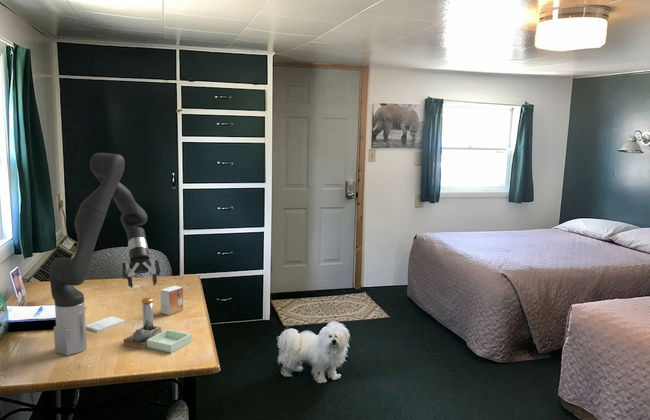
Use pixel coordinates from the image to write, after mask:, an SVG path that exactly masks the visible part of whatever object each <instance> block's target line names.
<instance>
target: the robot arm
mask: <svg viewBox="0 0 650 420" xmlns="http://www.w3.org/2000/svg"><path fill="white" fill-rule="evenodd" d="M125 166H126V163H125V158H124V157H123V156H122V155H121V154H117V153H108V152H96V153H94V154H93V155H92V156H91V158H90V161H89V167H90V170H91V172H92V174H93V175H94V177H95V178H96V180H98V181H99V182H100V183H101V184H100V185H99V186H98V187H97V188H96V189H95V190H94V191H93V192H92V193H90V194H89V195H88V196H87V197H86V198H85V199H84V200H83V201H82V202H81V204H80V206H79V208H78V211H77V213H76V215H75V219H74V229H75V232H76V237H77V248H76V250H75V254H74V257H57V258H55V259H54V260H53V261H52V263H51V264H50V267H49V282H50V290H51V291H50V292H51V296H52V297H51V298H52V299H53V301H54V309H55V326H53V337H54V352H55V353H57V354H61V355H64V356H67V357H68V356H70V355H74V354H78V353H81V352H83V351H85V350H86V349H87V347H88V346H87V343H88V342H87V329H86V325H87V324H86V310H85V309H86V308H85V296H84V295H85V294H84V293H83V292H82V291H80V290H78V289H77V288H76V286H80V285H82V284H83V283H84V282H85V281H86V279H87V277H88V274H89V271H90V268H91V267H90V266H91V263H92V259H93V255H94V252H95V247H96V244H97V240H98V237H99V234H100V231H101V229H102V227H103V224H104V221H105V220H106V219H105V218H106V216H107V212H108V210H109V206H110V204H111V200H112V199H113V200H114V203H115V204H116V206H117V207H118V208H117V209H118V210H119V211H120V213H122V214H121V215H120V222H121V224H122V226H123V227H124V230H125V232H126V236H127V242H128V243H127V246H128V247H127V252H128V257H129V263H125V262H123V263H122V264H121V265H122V266H121V273H122V274H121V275H122V277H121V278H122V280H125V279H126V280H127V286H128V288H129V287H130V289H133V277H134V275H137V274H138V275H139V274H148V275H149V276H151V278H152V279H151V280H152V285H153V286H156V284H158V279H157V276H160V275H161V267H160V262H159V260H158V259H156V260H155V261H151V260H150V253H149V246H148V242H147V236H146V232H145V229H144V228H143V227H140V226H143V225H145V224H146V223H147V222H148V215H147V212H146V211H145V209H143V207H141V206H140V205H139V204H138V203H137V201H136V200H135V198H134V196H133V195H132V192H131V191H130V190H129V189H128V188H127V187H126V186H125V185H124V184H122V183H121V182H120V181H121V179H122V177H123V174H124V171H125ZM152 266H153V268H155V270H154V269H153V268H152ZM128 268H129V269H130V271H129V273H128V274H127V270H128Z"/></svg>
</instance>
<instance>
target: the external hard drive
mask: <svg viewBox="0 0 650 420" xmlns="http://www.w3.org/2000/svg"><path fill="white" fill-rule="evenodd" d="M124 323H126V322H125V320H124V319H122V318H119V317H116V316H112V315H111V316H109V317H108V316H107V317H106V318H103V319H100V320H97V321H95V322H91V323H89V324H86V330H90V331H93V332H95V333H99V332H102V331H105V330H107V329H110V328H112V327H116V326H119V325H121V324H124Z"/></svg>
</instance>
